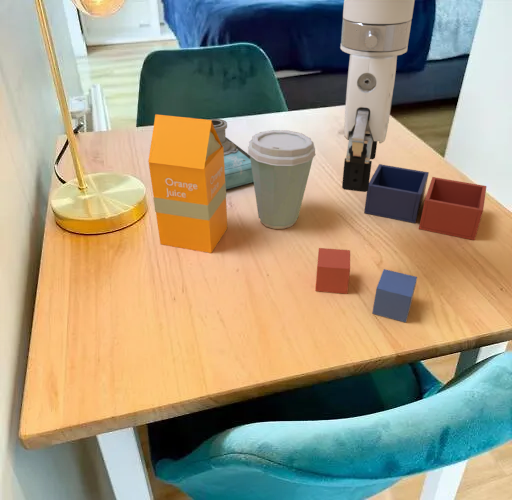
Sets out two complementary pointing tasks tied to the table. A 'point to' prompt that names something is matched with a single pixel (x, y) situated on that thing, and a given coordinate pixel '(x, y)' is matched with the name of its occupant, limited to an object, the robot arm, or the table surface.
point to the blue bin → (396, 193)
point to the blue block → (394, 295)
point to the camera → (233, 159)
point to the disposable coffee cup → (280, 174)
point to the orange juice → (188, 182)
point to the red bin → (453, 208)
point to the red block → (333, 270)
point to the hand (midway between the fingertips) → (359, 172)
